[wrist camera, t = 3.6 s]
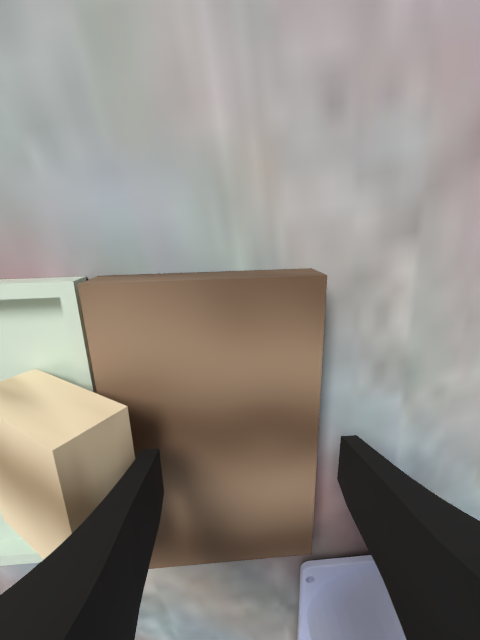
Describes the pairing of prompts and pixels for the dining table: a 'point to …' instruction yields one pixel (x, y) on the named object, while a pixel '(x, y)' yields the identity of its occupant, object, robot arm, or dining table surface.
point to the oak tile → (57, 455)
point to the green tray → (41, 355)
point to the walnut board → (218, 401)
